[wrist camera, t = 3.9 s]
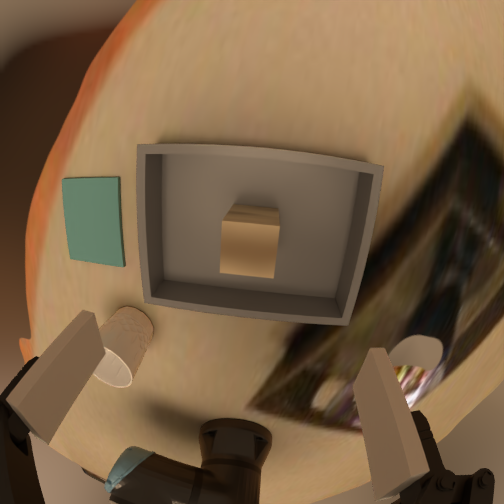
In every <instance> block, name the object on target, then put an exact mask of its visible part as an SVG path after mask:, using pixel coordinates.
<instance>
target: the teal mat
mask: <svg viewBox="0 0 504 504" xmlns="http://www.w3.org/2000/svg"><path fill="white" fill-rule="evenodd" d="M62 192H63V206H64V216H65V226H66V234H67V241H68V248H69V254H70V259H74V260H80V261H86V262H92V263H98V264H105V265H111V266H118V267H125V266H126V265H125V256H124V245H123V233H122V218H121V194H120V177H89V178H64V179H62Z"/></svg>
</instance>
